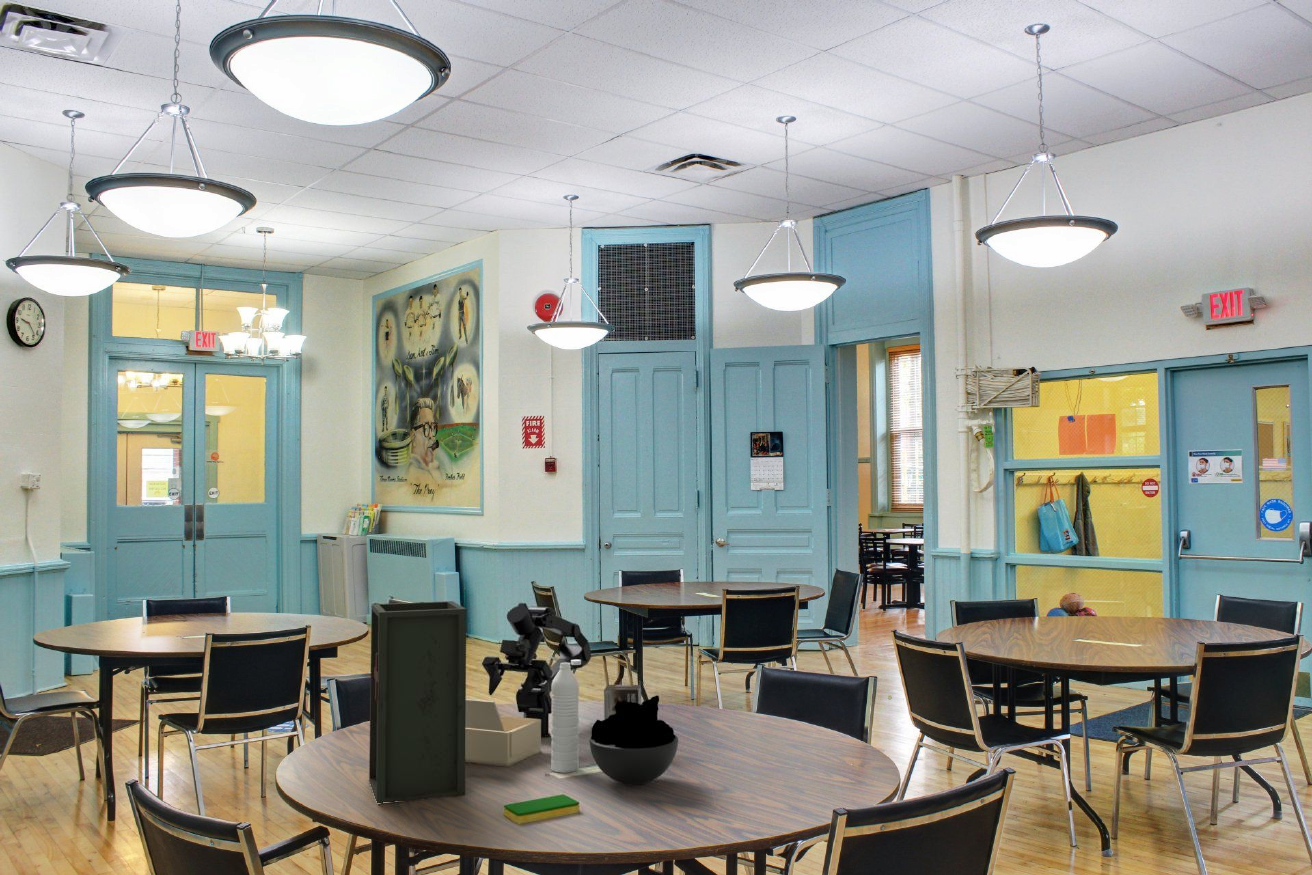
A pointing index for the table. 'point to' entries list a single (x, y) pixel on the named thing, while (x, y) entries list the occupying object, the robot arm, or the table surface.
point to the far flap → (483, 715)
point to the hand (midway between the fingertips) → (505, 695)
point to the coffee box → (620, 696)
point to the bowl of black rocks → (633, 743)
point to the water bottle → (565, 720)
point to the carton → (504, 742)
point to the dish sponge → (541, 808)
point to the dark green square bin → (417, 701)
